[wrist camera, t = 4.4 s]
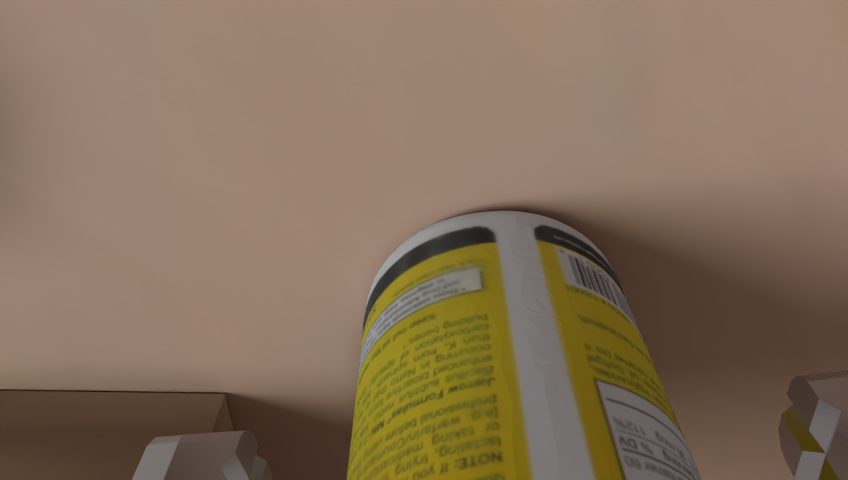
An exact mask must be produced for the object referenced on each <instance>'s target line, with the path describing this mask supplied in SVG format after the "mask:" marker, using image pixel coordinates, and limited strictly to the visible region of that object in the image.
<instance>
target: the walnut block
mask: <svg viewBox="0 0 848 480" xmlns="http://www.w3.org/2000/svg"><path fill="white" fill-rule="evenodd" d="M229 431H234V429H233V425H232V421H231V417H230V412H229V408H228V404H227V400H226V396H225V394H200V393H130V392H60V391H0V480H132V479H133V476H134V474H135V472H136V470H137V467H138V465H139V463H140V461H141V458H142V456H143V454H144V452H145V449H146V447H147V446H148V444H149V443H150V442H151V441H152V440H153V439H154V438H155V437H163V436H175V435H186V434H199V433H214V432H229Z"/></svg>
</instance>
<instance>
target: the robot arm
mask: <svg viewBox="0 0 848 480" xmlns="http://www.w3.org/2000/svg"><path fill="white" fill-rule="evenodd" d="M787 395H788V396H789V398H790V400H791V401H792V403H793V405H792V406H791V407H790V408H789V409H787V410H786V411H785V412H784V413H783V414H782V415H781V420H780V425H779V436H780V444H781V449H782V452H783V455H784V458H785V460H786V463H787V465H788V467H789V469H790V470H791V472H792V474H793V476H794V478H795V479H796V480H848V371H839V372H830V373H821V374H812V375H803V376H796V377H795V378H794V379H793V380H792V381H791V382H790V385H789V389H788V392H787ZM258 445H259V443H258V441H257V439H256V437H255V435H254V434H253V432H252V430H243V431H229V432H214V433H199V434H186V435H175V436H163V437H155V438H154V439H153V440H152V441H151V442H150V443H149V444H148V446H147V447H146V449H145V452H144V454H143V456H142V458H141V461H140V463H139V465H138V467H137V470H136V472H135V474H134V476H133V479H132V480H273V475H272V471H271V468H270V466H269V464H268V462H267V461H266V460H264V459H263V458H261V457H259V456H258V455H256V453H257V449H258Z"/></svg>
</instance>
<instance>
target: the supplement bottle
mask: <svg viewBox="0 0 848 480" xmlns="http://www.w3.org/2000/svg"><path fill="white" fill-rule="evenodd" d="M347 480H701V477H700V475H699V472H698V470H697V468H696V465H695V463H694V460H693V458H692V455H691V453H690V450H689V448H688V446H687V443H686V441H685V439H684V436H683V434H682V432H681V430H680V427H679V424H678V422H677V419H676V417H675V415H674V412H673V410H672V408H671V405H670V403H669V401H668V398H667V396H666V393H665V391H664V388H663V386H662V383H661V381H660V379H659V377H658V374H657V372H656V369H655V367H654V364H653V362H652V359H651V357H650V355H649V352H648V350H647V348H646V346H645V343H644V340H643V337H642V335H641V333H640V331H639V328H638V326H637V324H636V321H635V319H634V317H633V315H632V313H631V310H630V308H629V306H628V303H627V301H626V299H625V296H624V293H623V291H622V288H621V286H620V283H619V281H618V279H617V277H616V275H615V273H614V270H613V268H612V267H611V265H610V264H609V262H608V261H607V259H606V258H605V256H604V255H603V254H602V252H601V251H600V250H599V249H598V248H597V247H596V246H595V245H594V244H593V243H592V242H591V241H590V240H589V239H587V238H586V237H585V236H584V235H582V234H581V233H580V232H578V231H576V230H575V229H573V228H572V227H570V226H568V225H566V224H563V223H561V222H559V221H557V220H554V219H552V218H548V217H545V216H542V215H537V214H532V213H527V212H519V211H488V212H478V213H472V214H466V215H461V216H457V217H453V218H450V219H446V220H443V221H440V222H438V223H435V224H433V225H431V226H428V227H426V228H425V229H423V230H421V231H419V232H418V233H416V234H414V235H413V236H412V237H410V238H409V239H408V240H406V241H405V242H404V243H402V244H401V245H400V246H399V247H398V248H397V249H396V250H395V251H394V252H393V253H392V254H391V255H390V256H389V258H388V259H387V260H386V261H385V263H384V264H383V266H382V267H381V269H380V270H379V272H378V274H377V275H376V277H375V280H374V282H373V284H372V287H371V289H370V292H369V296H368V301H367V305H366V312H365V318H364V324H363V335H362V345H361V354H360V363H359V372H358V381H357V390H356V399H355V409H354V418H353V428H352V437H351V445H350V454H349V463H348V471H347Z"/></svg>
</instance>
